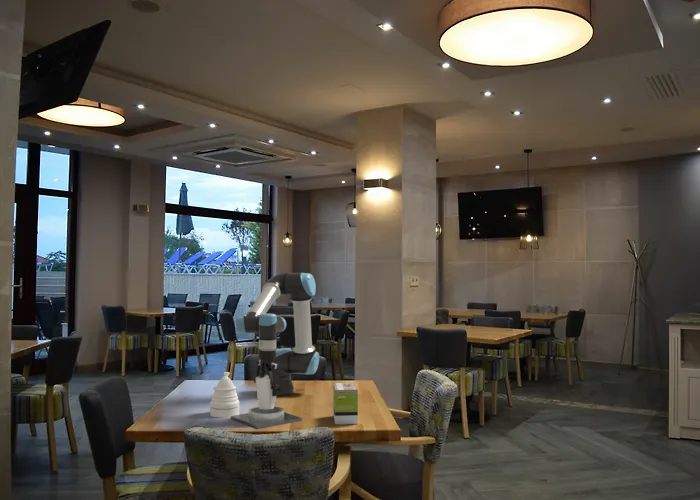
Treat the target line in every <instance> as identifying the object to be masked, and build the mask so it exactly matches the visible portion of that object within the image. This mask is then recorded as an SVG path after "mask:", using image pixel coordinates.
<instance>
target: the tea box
mask: <svg viewBox="0 0 700 500" xmlns="http://www.w3.org/2000/svg"><path fill="white" fill-rule="evenodd" d="M358 391H359V390H358V388H357V386H356V384H355V382H340V383H339V382H335V383H333V384H332V392H333V393H332V395H333V397H332V398H333V400H332V401H333V409H332V410H333V411H332V412H333V413H332V415H333V420H334V425H358V423H359V412H358V411H359V392H358Z"/></svg>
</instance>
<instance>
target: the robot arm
mask: <svg viewBox="0 0 700 500" xmlns="http://www.w3.org/2000/svg"><path fill="white" fill-rule="evenodd" d="M316 287H317V285H316V281H315V278H314V275H312V274H311V273H308V272H306V273H305V272H281V273H278V274H276V275H273V276H271V277H270V278H269V279H268V280H267V281H266V282H265V283H264V285H263V286H262V288H261V289H262V292H261V293H260V294H259V295H258V297H257V299H256V300H255V301H254V303H253V304H252V305H251V307H250V308H249V310H248V312H247V313H246V314H245V315H239V316H238V317H237V318H236V321H235V329H236V331H237V332H238V333H245V334H258V349H259V350H258V359H259V360H256V362H255V363H256V365H255V371H254V372H255V373H254V380H253V382H254V383H256V377H258V376H260V378H263V377H265V376H266V375H267V376H269V379H270V384H271V388H270V404H274V405H275V404H277V396H289V395H293V394H294V393H295V388H294V384H293V382H292V381H293V380H292V376H291V375H294V374H296V375H314V374H316V372H317V370H318V367H319V363H320V354H319V352H318V351H316V347H315V346H314V345H313V341H312V339H313V338H312V319H311V301H312V299H313V297H314V296H315V295H316V292H317V291H316V289H317V288H316ZM281 296H289V301H291V302H292V306H293V307H292V308H293V324H294V325H293V326H294V338H295V342H294V343H295V346H294V348H293V349H292V348H291V347H284V348H282V347H281V348H277V334H278V335H279V334H281V333H282V332H284V331H285V330H286V328H287V322H286V320H285V318H284V317H283V316H279V315H278V316H277V314H276V313H267V312H268V311H269V309H271V306H272V305H273V303H274V302H275V300H277V299H279V298H280V297H281ZM273 385H274V386H273ZM256 400H257V401H258V395H257V394H256Z"/></svg>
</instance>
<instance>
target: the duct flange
mask: <svg viewBox="0 0 700 500" xmlns="http://www.w3.org/2000/svg"><path fill="white" fill-rule="evenodd" d="M230 419H231V420H233V421H237V422H239V423H242V424H244V425H247V426H249V427H252V428H255V429H258V430H259V429H264V428H271V427H274V426H280V425H281V426H282V425H284V424H285V425H286V424H291V423H297V422H301V421H303V417H300V416H297V415H294V414H290V413H288V412H285V410H284V407H280V406H275V405H274V408H273V409H259V406H254V407H251V408H249V409H248V412H247V413H239V414H238V415H234V416H231V417H230Z"/></svg>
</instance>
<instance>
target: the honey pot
mask: <svg viewBox="0 0 700 500" xmlns="http://www.w3.org/2000/svg"><path fill="white" fill-rule="evenodd" d="M229 375H230V372H228V371H226V372H225V371H224V372H223V376H222V377H221V378H220V380H219V381H218V382H217V385H215V386H214V387H213V390H214V392H213V394H212V398H211V400H210V403H209V404H210V405H209V406H210V407H209V415H210V417H212V418H213V417H214V418H231V416H234V415H240V400H239V397H238V393H237V386H235V385H234V383H233V381H232V380H231V379H230V377H229Z"/></svg>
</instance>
